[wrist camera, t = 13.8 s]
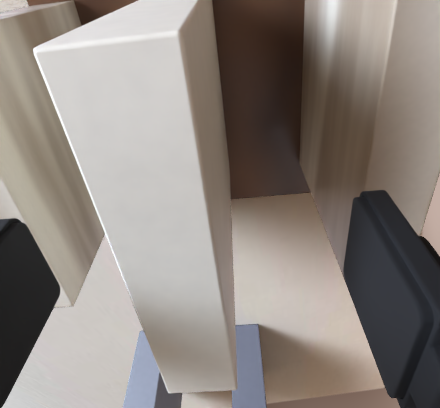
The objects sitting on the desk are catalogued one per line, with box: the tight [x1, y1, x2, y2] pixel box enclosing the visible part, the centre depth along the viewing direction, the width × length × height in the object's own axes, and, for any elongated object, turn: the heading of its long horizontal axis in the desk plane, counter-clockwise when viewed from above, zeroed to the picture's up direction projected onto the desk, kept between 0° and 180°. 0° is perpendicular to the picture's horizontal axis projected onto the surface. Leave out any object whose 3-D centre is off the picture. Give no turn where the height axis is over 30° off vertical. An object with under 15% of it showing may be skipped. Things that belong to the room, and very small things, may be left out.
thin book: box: [33, 0, 238, 393], centre depth 14 cm, size 2×11×15 cm, turn 6°
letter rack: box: [0, 0, 440, 308], centre depth 17 cm, size 17×16×12 cm
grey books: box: [123, 324, 267, 408], centre depth 36 cm, size 13×11×9 cm
